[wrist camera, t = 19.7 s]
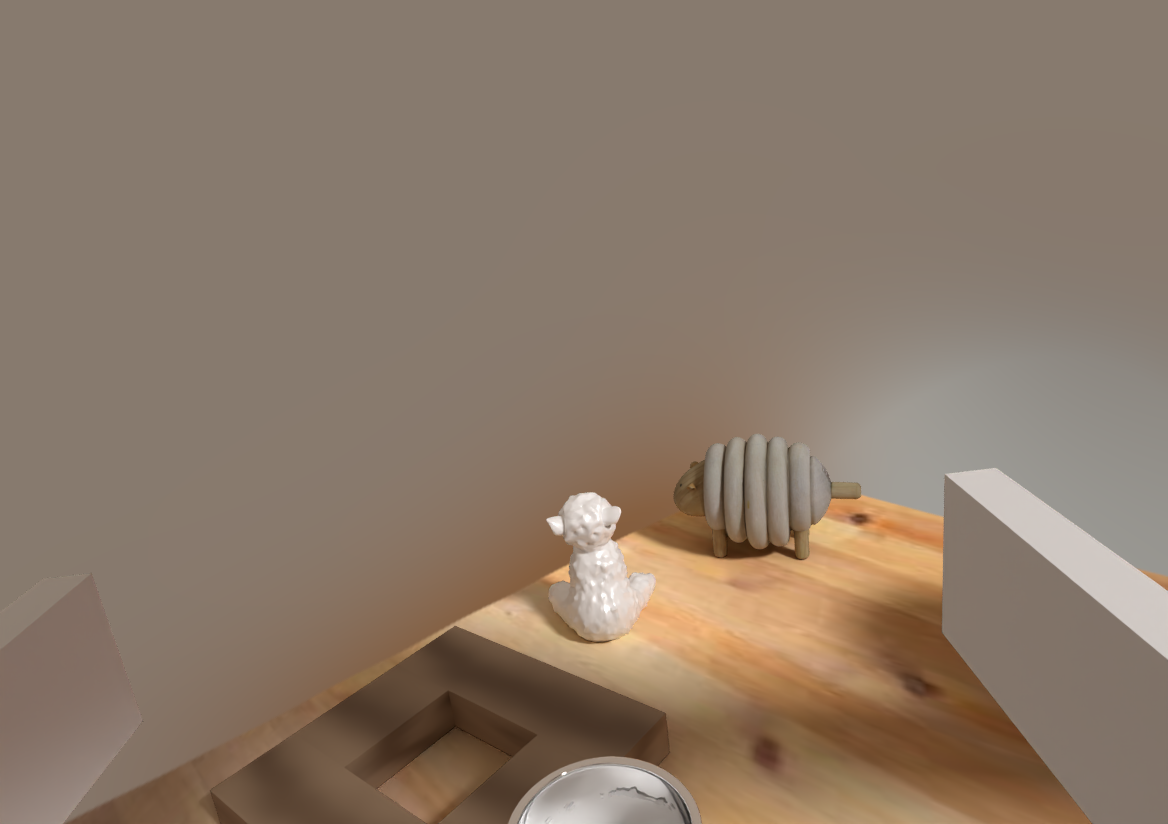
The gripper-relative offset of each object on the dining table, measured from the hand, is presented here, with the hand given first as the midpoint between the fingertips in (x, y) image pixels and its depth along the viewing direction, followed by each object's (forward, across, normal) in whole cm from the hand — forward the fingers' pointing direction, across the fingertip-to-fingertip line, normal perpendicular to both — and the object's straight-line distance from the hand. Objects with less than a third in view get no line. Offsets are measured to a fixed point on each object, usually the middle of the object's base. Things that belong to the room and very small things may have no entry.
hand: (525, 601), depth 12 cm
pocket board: (+29, -11, -30) cm, 43 cm away
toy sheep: (+56, +15, -30) cm, 65 cm away
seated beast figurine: (+47, 0, -30) cm, 56 cm away
